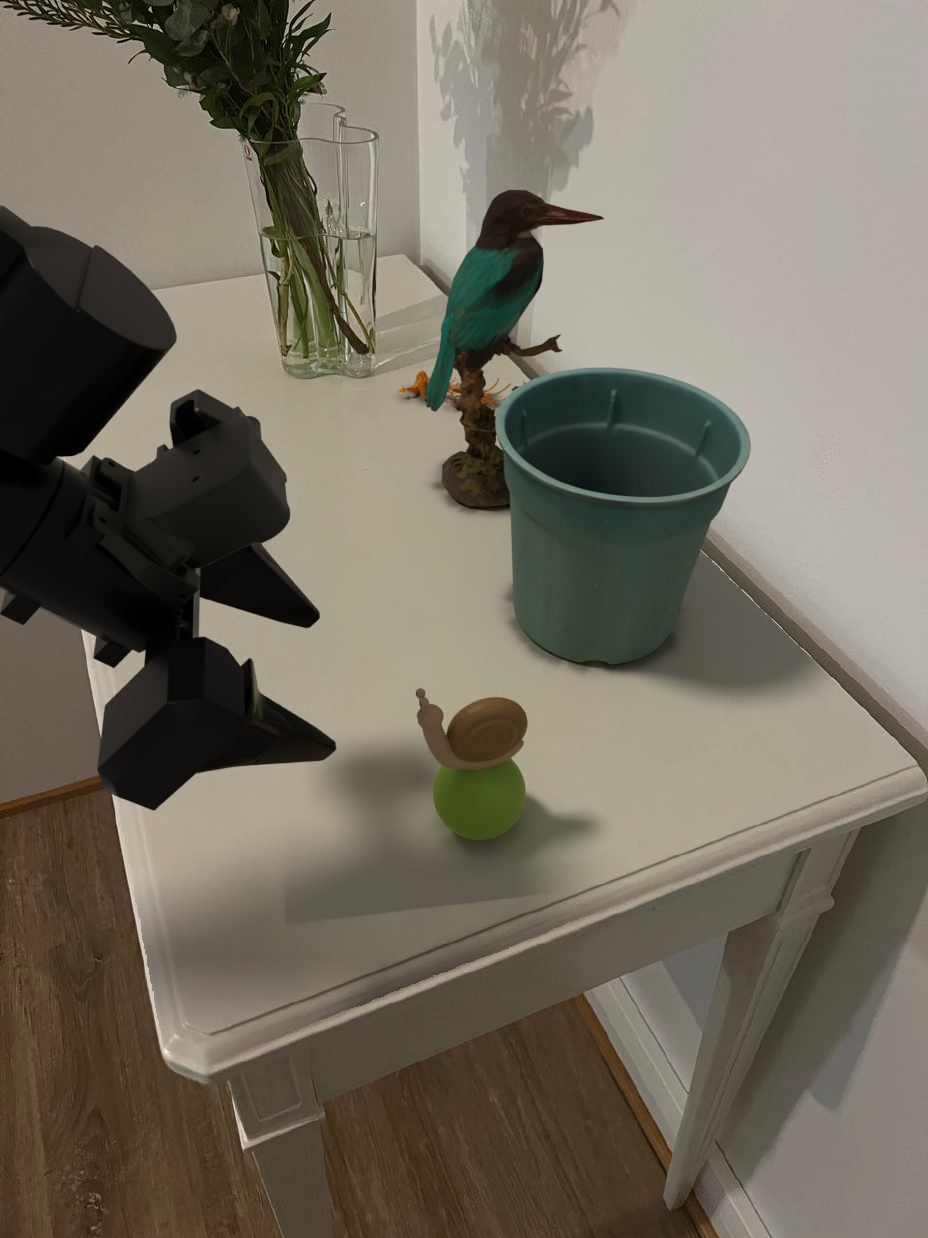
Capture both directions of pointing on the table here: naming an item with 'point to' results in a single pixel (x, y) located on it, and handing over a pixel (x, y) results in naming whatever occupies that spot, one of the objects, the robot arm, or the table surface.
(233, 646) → the table surface
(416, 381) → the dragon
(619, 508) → the flower pot
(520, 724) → the snail figurine
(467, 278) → the sculpture
